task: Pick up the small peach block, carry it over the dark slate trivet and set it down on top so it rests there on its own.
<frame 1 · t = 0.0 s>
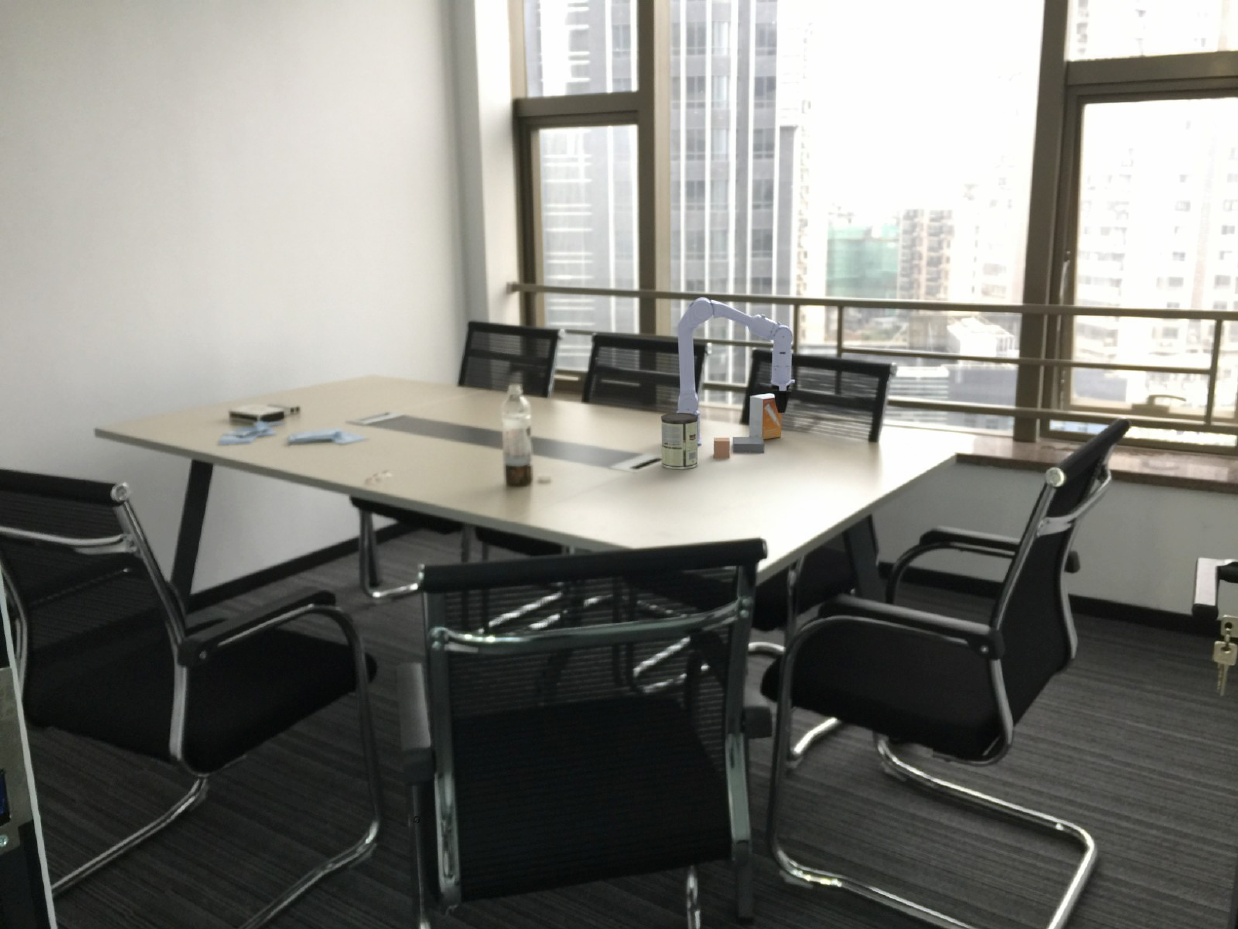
hand: (780, 410, 324), 10 cm above the table, fingers open, 7 cm apart
coffee can: (679, 465, 302), on the table
slate trivet: (747, 450, 320), on the table
small box: (765, 437, 335), on the table
peach block: (721, 456, 312), on the table
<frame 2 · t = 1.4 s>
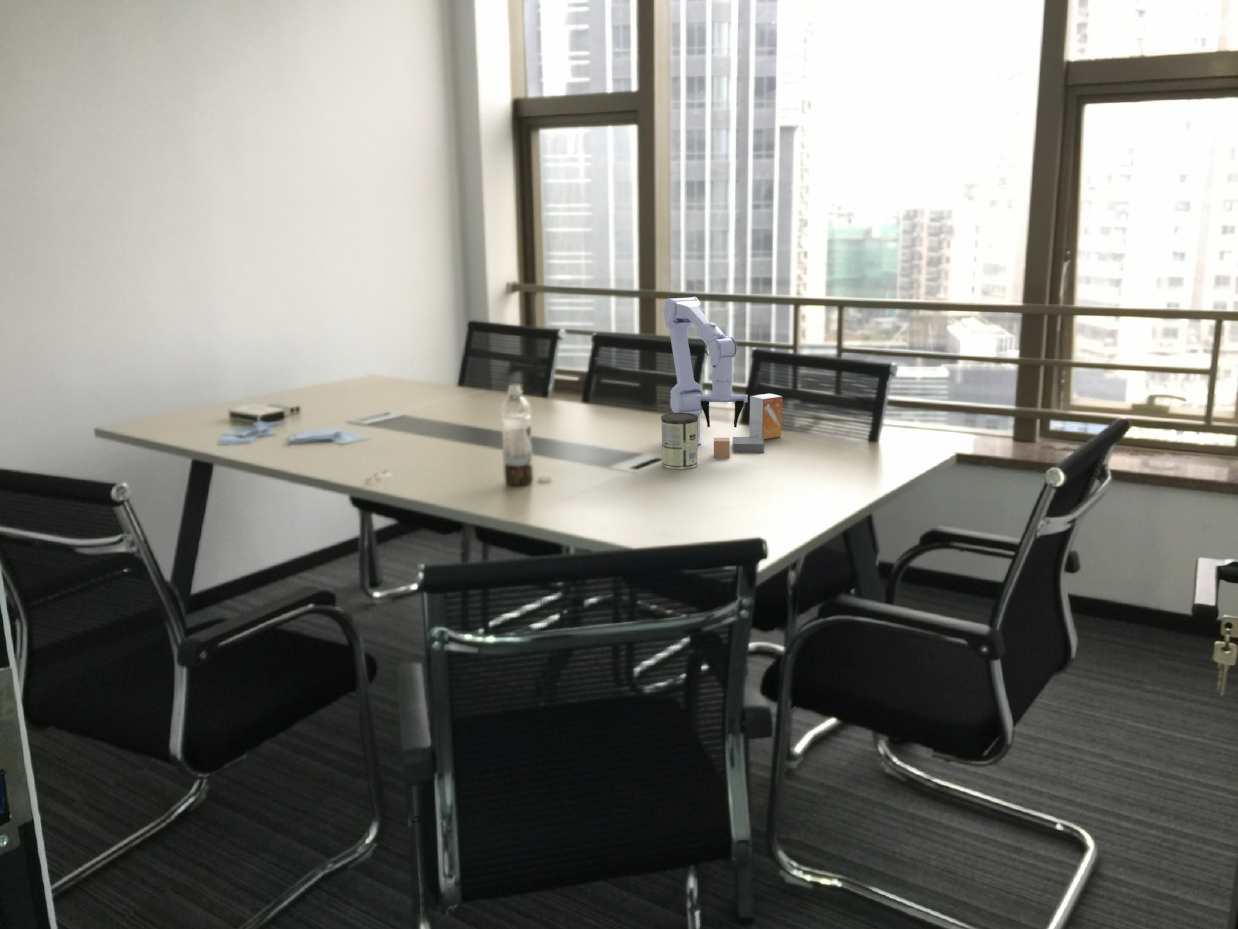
hand: (721, 426, 309), 9 cm above the table, fingers open, 7 cm apart
nothing on the table moved.
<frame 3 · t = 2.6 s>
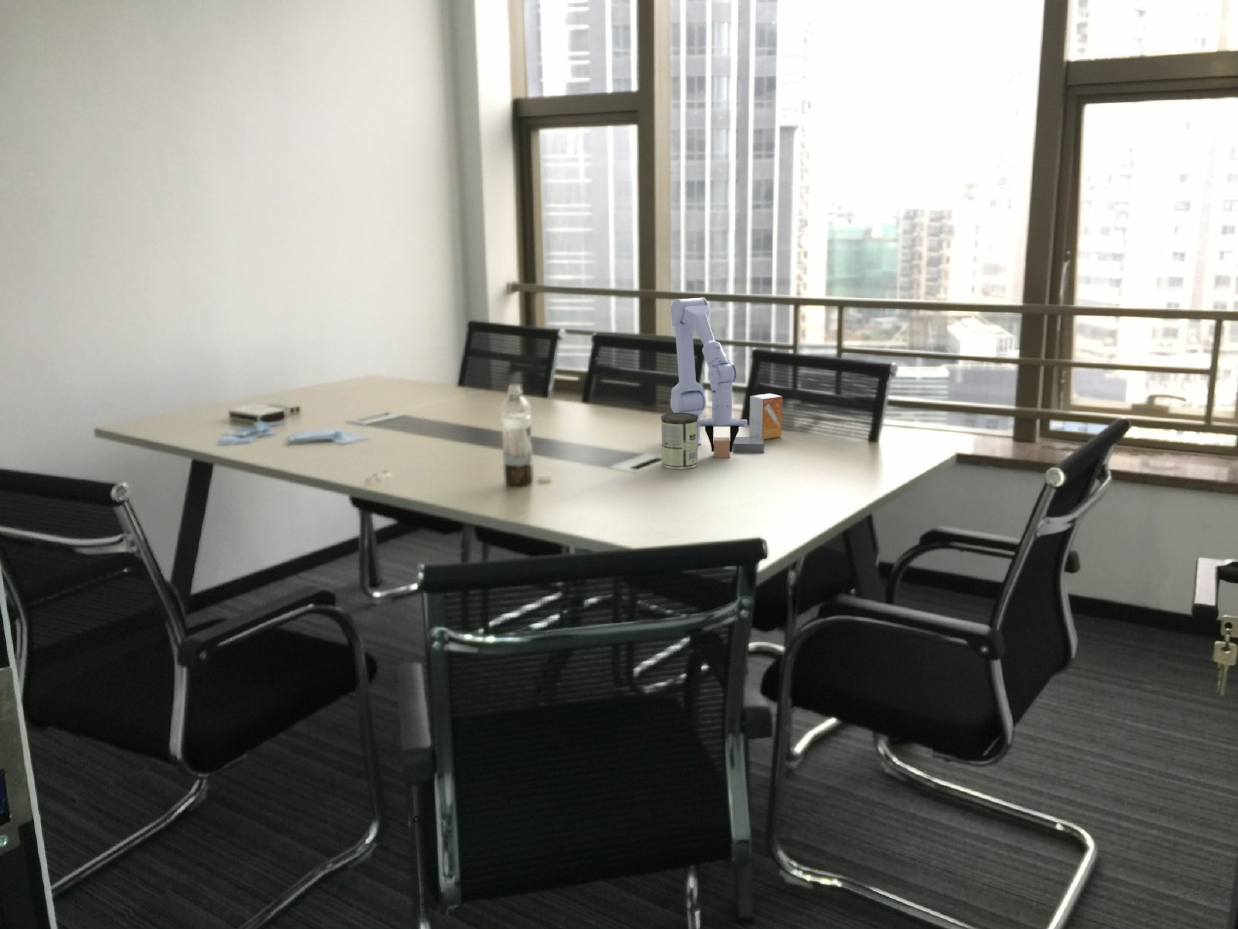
hand: (721, 451, 311), 1 cm above the table, fingers closed on peach block, 4 cm apart
peach block: (721, 455, 312), on the table, touching gripper
everything else where it was.
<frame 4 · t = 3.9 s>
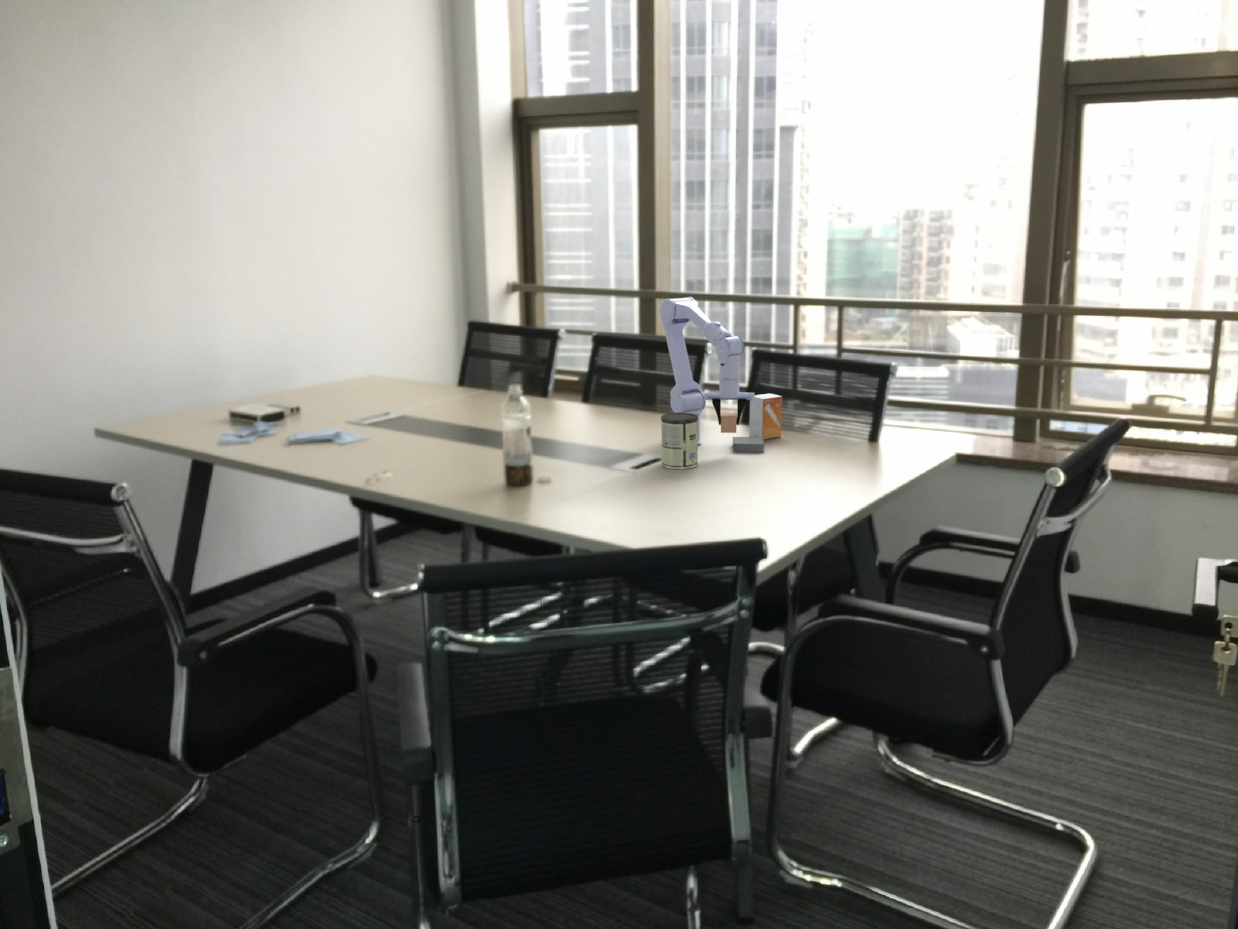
hand: (728, 424, 312), 9 cm above the table, fingers closed on peach block, 4 cm apart
peach block: (728, 430, 312), point 7 cm above the table, touching gripper
everything else where it was.
when the fingers open (6 cm above the table, at t = 5.4 s): peach block drops 1 cm, resting on slate trivet.
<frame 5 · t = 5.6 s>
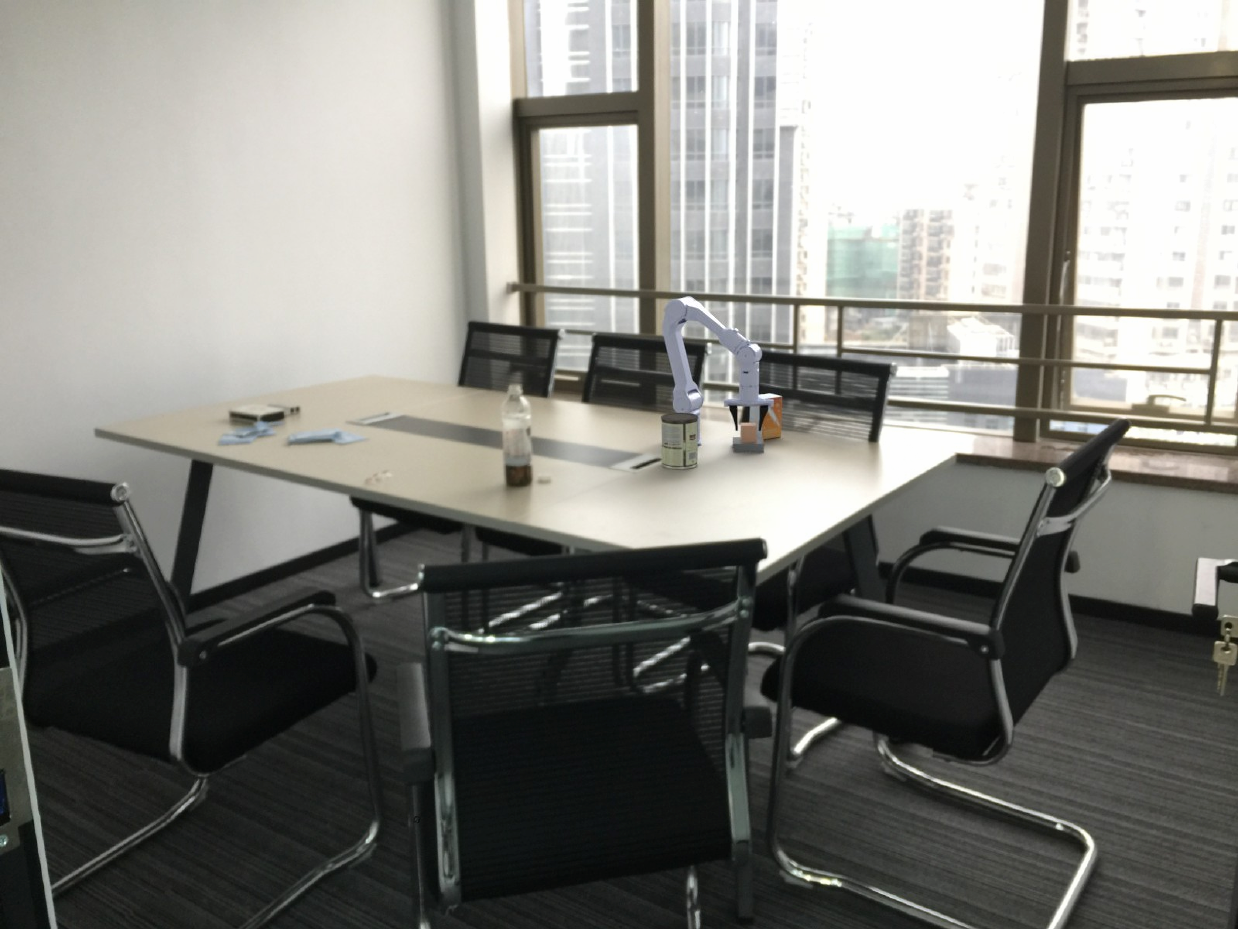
hand: (748, 430, 318), 6 cm above the table, fingers open, 6 cm apart
slate trivet: (747, 450, 320), on the table, touching peach block
peach block: (748, 440, 319), point 2 cm above the table, touching slate trivet
everything else where it was.
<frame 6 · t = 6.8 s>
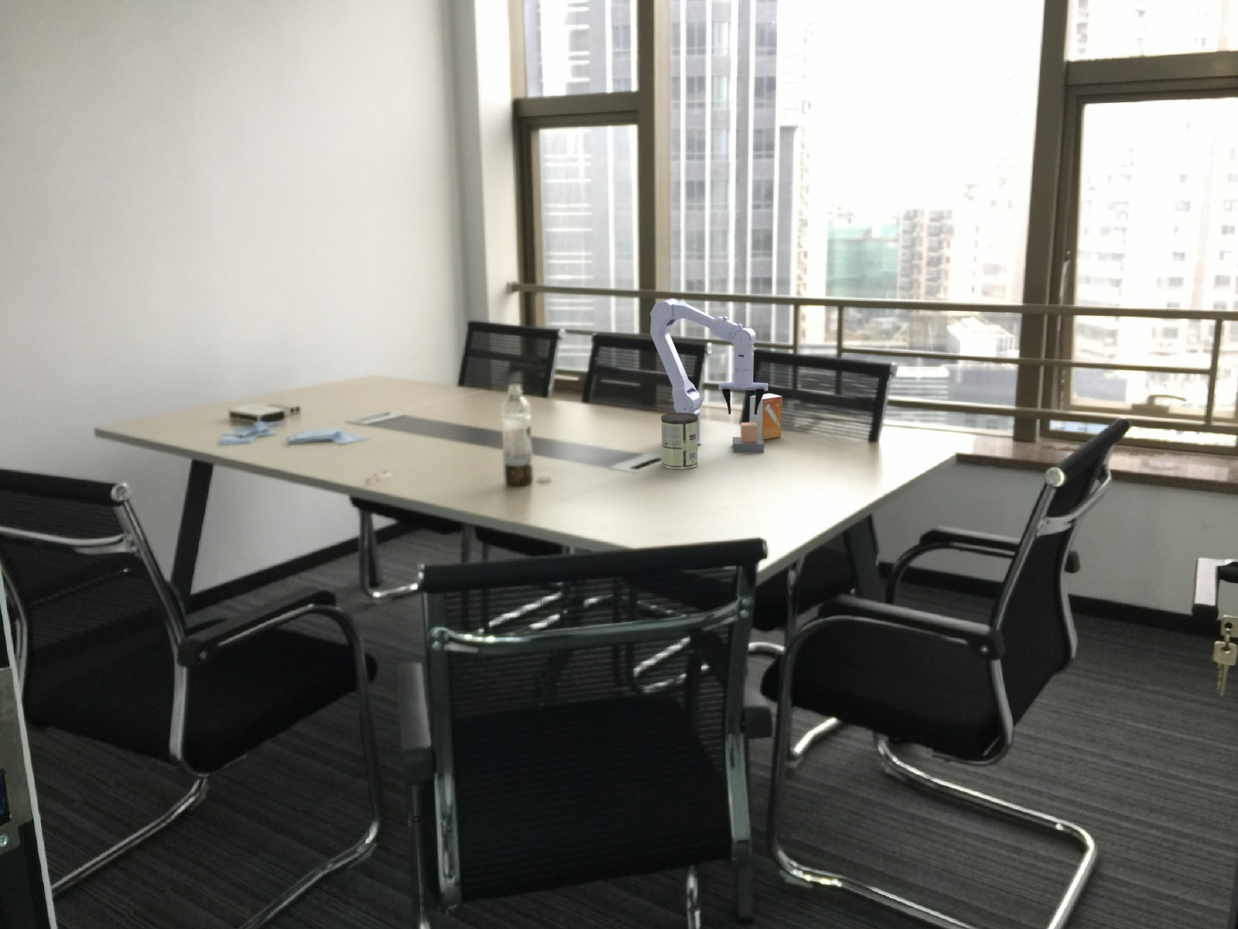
hand: (742, 413, 320), 10 cm above the table, fingers open, 7 cm apart
slate trivet: (747, 450, 320), on the table
peach block: (748, 440, 319), point 3 cm above the table
everything else where it was.
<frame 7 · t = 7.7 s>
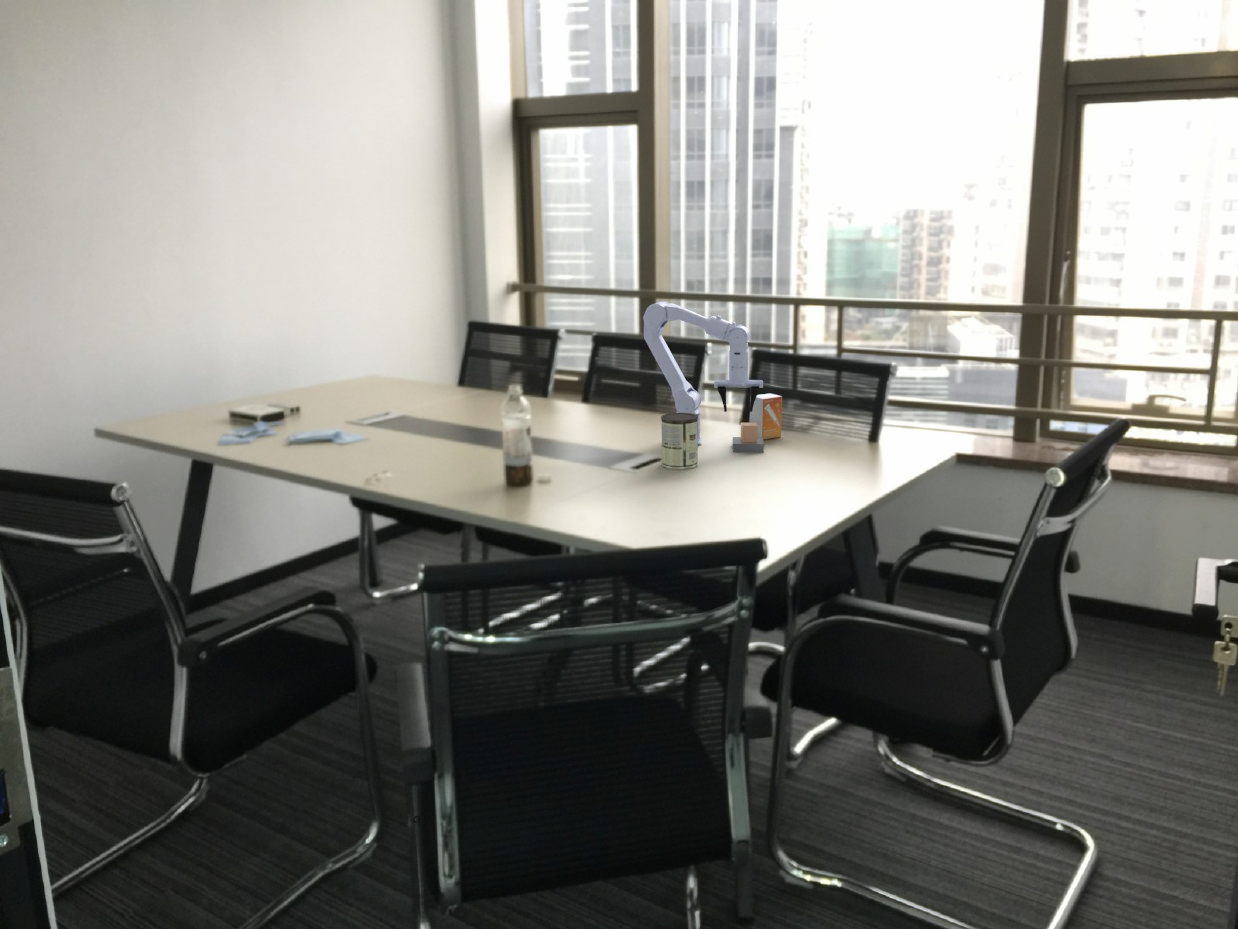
hand: (738, 411, 322), 10 cm above the table, fingers open, 7 cm apart
slate trivet: (747, 450, 320), on the table, touching peach block
peach block: (748, 440, 319), point 2 cm above the table, touching slate trivet
everything else where it was.
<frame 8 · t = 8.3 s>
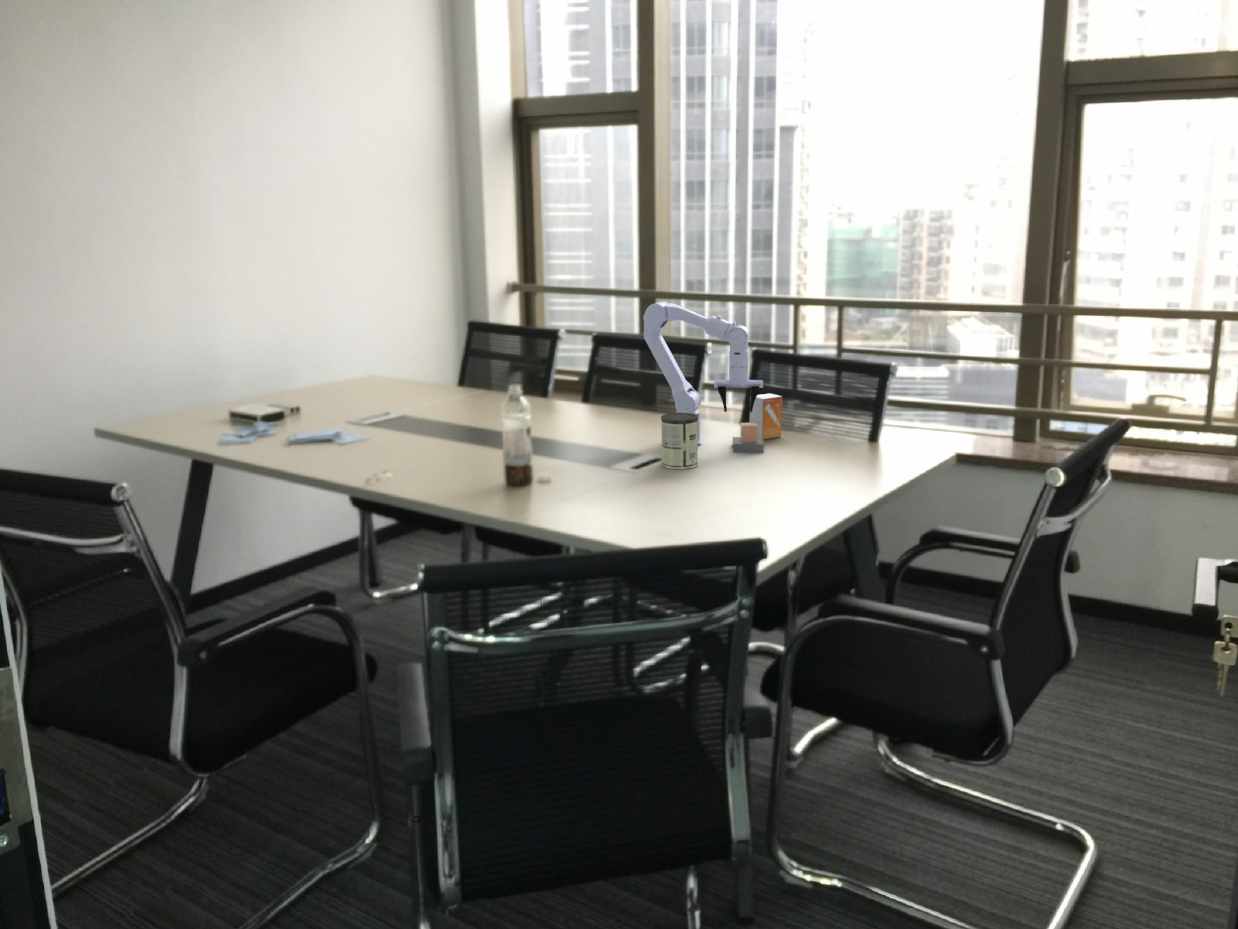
hand: (738, 411, 322), 10 cm above the table, fingers open, 7 cm apart
nothing on the table moved.
at the end: peach block 0.4 cm off-centre on the slate trivet, point 3.0 cm above the slate trivet's base; peach block tilted 0°; peach block touching nothing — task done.
